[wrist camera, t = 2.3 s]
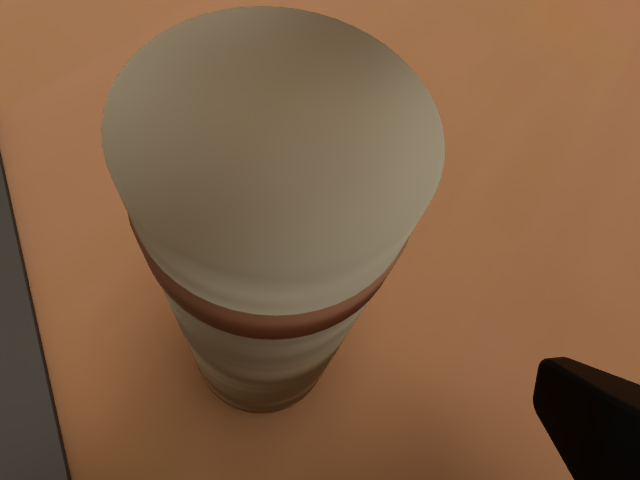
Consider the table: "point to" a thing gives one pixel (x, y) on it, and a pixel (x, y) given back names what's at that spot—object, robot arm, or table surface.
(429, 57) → the table surface
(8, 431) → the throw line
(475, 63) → the table surface
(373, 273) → the skittle
